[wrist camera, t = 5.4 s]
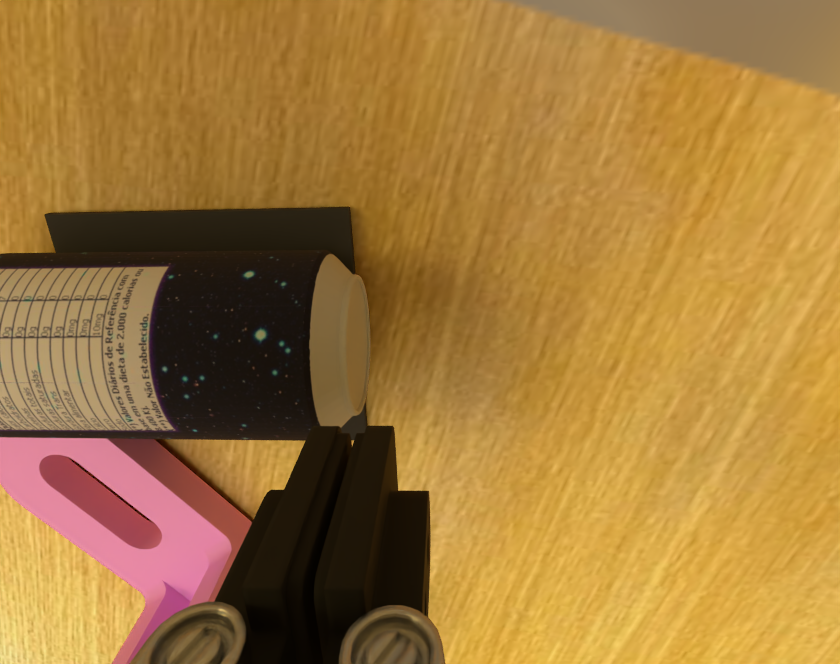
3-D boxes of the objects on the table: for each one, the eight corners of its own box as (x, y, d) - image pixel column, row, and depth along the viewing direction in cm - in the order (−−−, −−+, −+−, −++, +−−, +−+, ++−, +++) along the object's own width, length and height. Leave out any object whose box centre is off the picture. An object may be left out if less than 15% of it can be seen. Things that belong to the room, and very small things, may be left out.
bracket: (307, 568, 23) (254, 744, 17) (225, 617, 25) (149, 794, 18) (69, 368, 19) (-114, 496, 13) (-9, 440, 21) (-205, 587, 15)
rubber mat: (50, 212, 18) (43, 214, 17) (350, 206, 17) (348, 208, 17) (116, 434, 21) (112, 439, 21) (368, 436, 20) (367, 440, 20)
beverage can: (359, 211, 15) (-20, 217, 16) (329, 351, 11) (-174, 351, 12) (378, 340, 19) (74, 341, 20) (360, 477, 15) (-17, 472, 16)
